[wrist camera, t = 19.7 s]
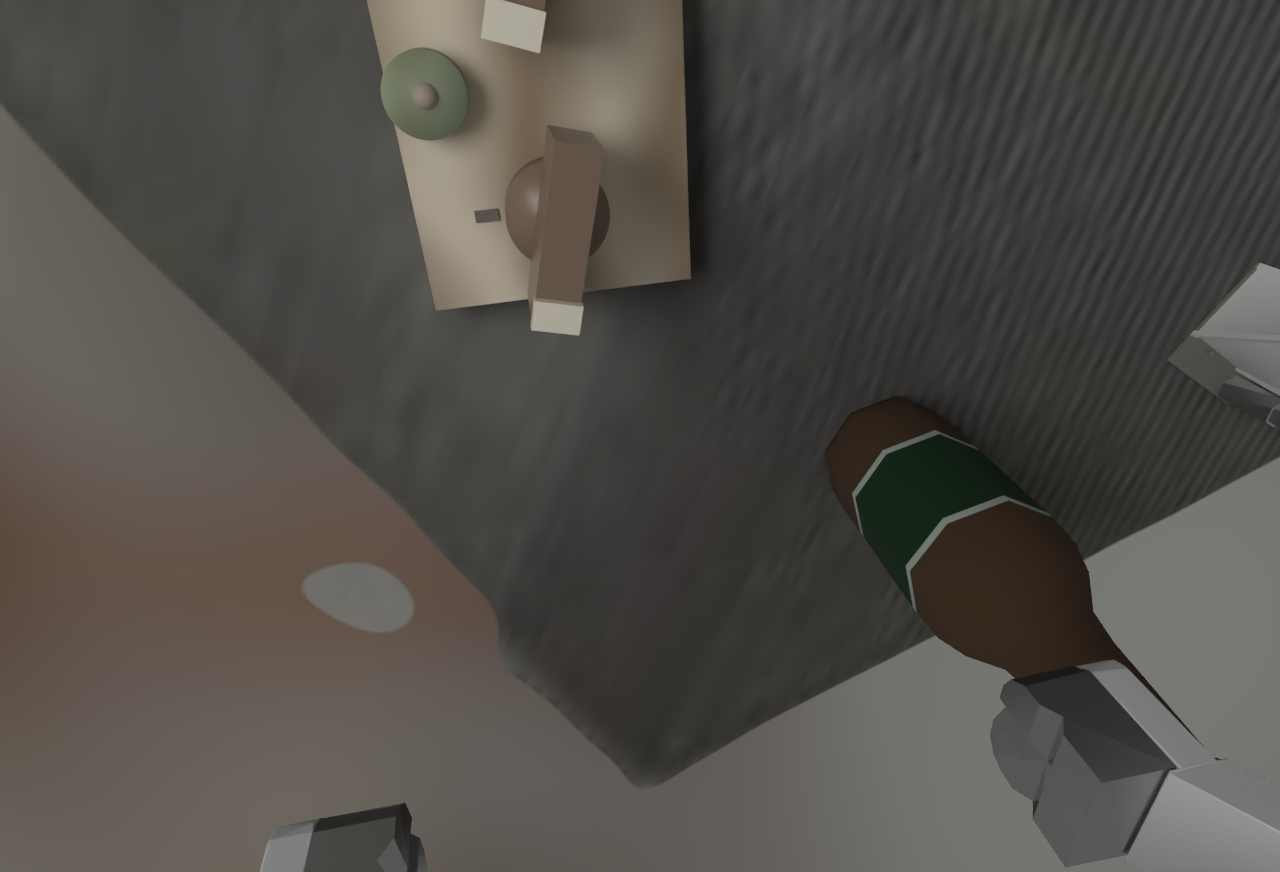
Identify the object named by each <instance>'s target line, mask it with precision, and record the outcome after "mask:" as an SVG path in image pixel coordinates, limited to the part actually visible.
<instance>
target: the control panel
mask: <svg viewBox="0 0 1280 872" xmlns="http://www.w3.org/2000/svg"><path fill="white" fill-rule="evenodd" d="M367 3H368V7H369V12H370V16H371V21H372V25H373V30H374V34H375V39H376V43H377V48H378V52H379V57H380V61H381V66H382V70H383V77H382V81H381V97H382V102H383V105H384V108H385V110H386V112H387V114H388V116H389V117H390V119H391V120H392V122H393V123H394V124H395V128H396V133H397V137H398V142H399V146H400V151H401V155H402V160H403V164H404V169H405V173H406V178H407V182H408V187H409V191H410V196H411V200H412V205H413V209H414V213H415V218H416V222H417V227H418V231H419V236H420V240H421V245H422V249H423V254H424V258H425V263H426V267H427V272H428V276H429V281H430V285H431V290H432V294H433V299H434V303H435V308H436V311H437V310H445V309H453V308H461V307H469V306H477V305H485V304H493V303H501V302H509V301H517V300H525V299H528V293H527V292H528V284H529V275H530V267H531V260H530V259H529V258H527V257H526V256H525V255H523V254H522V253H521V252H520V251H519V249H518V248H517V247H516V246H515V244H514V243H513V241H512V239H511V237H510V235H509V232H508V229H507V225H506V218H505V197H506V192H507V189H508V186H509V184H510V182H511V180H512V179H513V177H514V175H515V174H516V173H517V172H518V171H519V170H520V169H521V168H522V167H523V166H524V165H526V164H527V163H529V162H531V161H533V160H535V159H537V158H540V157H543V156H544V148H545V139H546V131H547V125H552V126H558V127H564V128H569V129H575V130H580V131H586V132H592V133H593V135H594V136H595V137H596V139H597V140H598V141H599V142H600V144H601V145H602V146H603V147H604V149H605V153H604V160H603V166H602V173H601V179H600V185H601V187H602V189H603V190H604V192H605V195H606V197H607V200H608V203H609V209H610V222H609V228H608V232H607V234H606V237H605V239H604V241H603V243H602V244H601V246H600V247H599V249H598V250H597V251H596V252H595V253H594V254H593V255H592V256H590V257H589V258H588V263H587V270H586V276H585V282H584V289H583V292H589V291H597V290H605V289H613V288H621V287H629V286H637V285H645V284H653V283H661V282H669V281H677V280H685V279H691V269H690V237H689V205H688V172H687V140H686V108H685V75H684V43H683V11H682V0H546V2H545V9H544V12H546V18H545V24H544V30H543V36H542V43H541V49H540V53H536V52H532V51H529V50H525V49H521V48H517V47H513V46H510V45H506V44H502V43H498V42H494V41H491V40H487V39H483V38H481V32H482V24H483V16H484V8H485V0H367Z"/></svg>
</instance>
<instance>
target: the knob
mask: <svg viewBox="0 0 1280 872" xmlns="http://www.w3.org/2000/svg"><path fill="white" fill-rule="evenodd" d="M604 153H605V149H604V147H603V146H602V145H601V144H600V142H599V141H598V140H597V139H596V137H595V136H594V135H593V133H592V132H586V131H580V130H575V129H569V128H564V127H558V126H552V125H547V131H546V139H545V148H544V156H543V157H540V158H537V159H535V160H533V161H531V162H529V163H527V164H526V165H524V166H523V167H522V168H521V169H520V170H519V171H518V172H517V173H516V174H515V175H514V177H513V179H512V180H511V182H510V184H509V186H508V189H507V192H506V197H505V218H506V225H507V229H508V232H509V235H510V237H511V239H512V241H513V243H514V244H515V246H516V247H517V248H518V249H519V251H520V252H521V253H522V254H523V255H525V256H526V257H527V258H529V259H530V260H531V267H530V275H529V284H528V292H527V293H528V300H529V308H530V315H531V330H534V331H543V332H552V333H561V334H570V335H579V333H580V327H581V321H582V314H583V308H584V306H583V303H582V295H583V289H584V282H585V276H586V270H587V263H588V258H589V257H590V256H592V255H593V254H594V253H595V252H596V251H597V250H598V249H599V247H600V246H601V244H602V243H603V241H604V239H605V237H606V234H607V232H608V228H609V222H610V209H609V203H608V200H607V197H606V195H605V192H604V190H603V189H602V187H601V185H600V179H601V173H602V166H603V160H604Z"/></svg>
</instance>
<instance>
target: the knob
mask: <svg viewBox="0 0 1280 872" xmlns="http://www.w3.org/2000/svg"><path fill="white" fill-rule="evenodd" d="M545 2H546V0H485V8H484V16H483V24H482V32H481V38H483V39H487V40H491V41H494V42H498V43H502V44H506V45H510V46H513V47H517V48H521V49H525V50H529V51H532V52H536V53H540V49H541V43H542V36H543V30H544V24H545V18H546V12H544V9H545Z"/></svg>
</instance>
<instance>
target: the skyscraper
mask: <svg viewBox="0 0 1280 872" xmlns="http://www.w3.org/2000/svg"><path fill="white" fill-rule="evenodd" d="M1166 360H1167V361H1169V362H1170V363H1171V364H1173V365H1174V366H1175V367H1177V368H1178V369H1179V370H1181V371H1182V372H1184V373H1185V374H1186V375H1188V376H1189V377H1190V378H1192V379H1193V380H1194V381H1196V382H1197V383H1198V384H1200V385H1201V386H1203V387H1204V388H1205V389H1207V390H1208V391H1209V392H1211V393H1212V394H1213V395H1215V396H1216V397H1217V398H1219V399H1220V400H1222V401H1223V402H1224V403H1226V404H1227V405H1228V404H1229V403H1230V404H1232V405H1234V406H1236V407H1238V408H1240V409H1242V410H1244V411H1246V412H1248V413H1250V414H1252V415H1254V416H1256V417H1258V418H1259V419H1261V420H1263V421H1265V422H1267V423H1268V424H1270V425H1271V426H1272V427H1275V426H1277V427H1279V428H1280V398H1279V397H1277V396H1275V395H1273V394H1271V393H1269V392H1267V391H1266V390H1264V389H1262V388H1260V387H1258V386H1256V385H1254V384H1252V383H1251V381H1254V382H1255V383H1257V384H1259V385H1261V386H1262V387H1264V388H1266V389H1267V390H1269V391H1271V392H1273V393H1274V394H1276V395H1278V396H1280V269H1277V268H1274V267H1271V266H1268V265H1265V264H1262V263H1259V262H1257V264H1256V265H1255V266H1254V267H1253V268H1252V269H1251V270H1250V271H1249V272H1248V273H1247V274H1246V275H1245V276H1244V277H1243V278H1242V280H1241V281H1240V282H1239V283H1238V284H1237V285H1236V286H1235V287H1234V288H1233V289H1232V290H1231V291H1230V292H1229V293H1228V294H1227V296H1226V297H1225V298H1224V299H1223V300H1222V301H1221V302H1220V303H1219V304H1218V305H1217V306H1216V307H1215V308H1214V309H1213V310H1212V312H1211V313H1210V314H1209V315H1208V316H1207V317H1206V318H1205V319H1204V320H1203V321H1202V322H1201V323H1200V324H1199V325H1198V326H1197V328H1196V329H1195V330H1194V331H1193V332H1192V333H1191V334H1190V335H1189V336H1188V337H1187V338H1186V339H1185V340H1184V341H1183V342H1182V344H1181V345H1180V346H1179V347H1178V348H1177V349H1176V350H1175V351H1174V352H1173V353H1172V354H1171V355H1170V356H1169V357H1168V358H1167V359H1166Z"/></svg>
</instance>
